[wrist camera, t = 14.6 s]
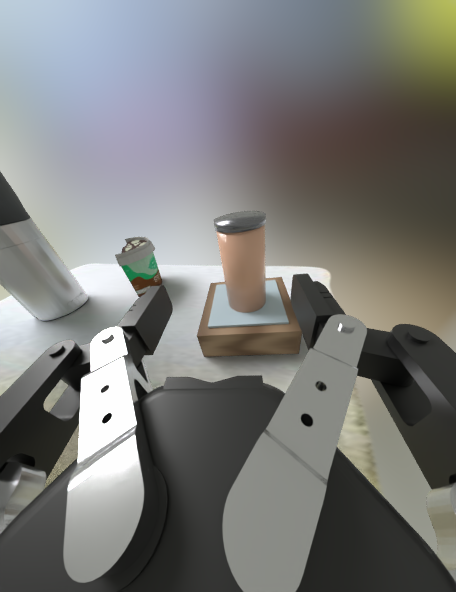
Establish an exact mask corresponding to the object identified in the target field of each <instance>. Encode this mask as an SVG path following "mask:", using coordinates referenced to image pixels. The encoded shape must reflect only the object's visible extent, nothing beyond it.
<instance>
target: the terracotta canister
mask: <svg viewBox="0 0 456 592" xmlns="http://www.w3.org/2000/svg"><path fill="white" fill-rule="evenodd" d="M265 223H266V214H265V213H264V212H259V211H244V212H237V213H231V214H227V215H223V216H220V217H218V218H216V219H215V220H214V225H215V230H216V231H217V237H218V243H219V249H220V255H221V261H222V267H223V273H224V279H225V285H226V290H227V296H228V302H229V306H230V307H231V308H232V309H233V310H235V311H237V312H242V313H249V312H254V311H257V310H259V309H261V308H262V307H263V306H264V305H265V302H266V277H265Z"/></svg>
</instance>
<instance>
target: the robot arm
mask: <svg viewBox="0 0 456 592" xmlns="http://www.w3.org/2000/svg"><path fill="white" fill-rule="evenodd" d="M0 284H1V285H2V286H3V287H4V288H5V289H6V290H7V291H8V292H9V293H10V294H11V295H12V296H13V297H14V298H15V299H16V300H17V301H18V302H19V303H20V304H21V305H22V306H23V307H24V308H25V309H26V310H28V311H29V312H30V313H31V314H32V315H33V316H34V317H37V318H38V319H39V320H42V321H47V320H53V319H56V318H59V317H62V316H64V315H67V314H69V313H71V312H73V311H75V310H76V309H78V308H79V307H81V306H82V305H83V304H84V303H85V302H86V301H87V300H88V296H87V294H86V293H85V291H84V290H83V289H82V287H81V286H80V285H79V283H78V282H77V280H76V279H75V278H74V276H73V275H72V273H71V272H70V271H69V269H68V268H67V267H66V265H65V264H64V262H63V261H62V260H61V259H60V257H59V256H58V254H57V253H56V252H55V251H54V249H53V247H52V246H51V245H50V243H49V242H48V241H47V239H46V238H45V237H44V235H43V234H42V233H41V231H40V230H39V229H38V227H37V226H36V224H35V223H34V222H33V220H32V219H31V218H30V216H29V215H28V213H27V212H26V211H25V209H24V207H23V205H22V204H21V202H20V200H19V199H18V197H17V195H16V194H15V192H14V191H13V189H12V188H11V186H10V185H9V184H8V182H7V181H6V179H5V178H4V176H3V175H2V173H1V172H0ZM291 305H292V308H293V310H294V313H295V316H296V318H297V321H298V323H299V326H300V329H301V331H302V334H303V337H304V339H305V342H306V344H307V347H308V350H309V351H308V353H307V355H306V357H305V359H304V360H303V362H302V364H301V366H300V368H299V370H298V371H297V373H296V375H295V377H294V379H293V381H292V382H291V384H290V386H289V388H288V390H287V392H286V394H285V393H284V392H282V391H281V390H279V389H277V388H276V387H273V386H271V385H268V384H265V383H263V380H262V376H236V377H232V378H228V379H225V380H221V381H218V382H214V383H210V382H206V381H203V380H199V379H195V378H191V377H167V378H166V381H165V384H164V386H161V387H159V388H156V389H154V390H153V388H152V385H151V382H150V379H149V376H148V373H147V370H146V366H145V363H144V361H143V360H142V358H143V356H144V355H153V353H154V351H155V349H156V347H157V345H158V343H159V340H160V338H161V336H162V334H163V332H164V329H165V327H166V325H167V323H168V321H169V319H170V316H171V314H172V310H173V308H172V303H171V301H170V298H169V296H168V293H167V291H166V289H165V287H164V286H163V285H160V286H151V287H150V288H149V289H148V290H147V292H146V293H145V294H144V295H142V296H141V297H140V298H138V299H137V300H136V301H135V303H134V304H133V306H132V307H131V308H130V309H129V311H128V312H127V313H126V314H125V316H124V317H123V318H122V320H121V321H120V322H119V324H118V325H117V326H116V327H112V328H109V329H106V330H104V331H102V332H101V333H99V334H98V335H97V336H96V337H95V338H94V339H93V340H92V342H91V343H87V344H84V345H80V346H78V345H77V344H76V343H75V342H74V341H73V340H65V341H61V342H59V343H57V344H55V345H53V346H52V347H50V348H49V349H47V350H46V351H45V352H44V353H43V354H42V355H41V356H40V357H39V358H38V359H37V360H36V361H35V362H34V363H33V364H32V365H31V366H30V367H29V368H28V369H27V370H26V371H25V372H24V373H23V374H22V375H21V376H20V377H19V378H18V379H17V380H16V381H15V382H14V383H13V384H12V385H11V386H10V387H9V388H8V389H7V390H6V391H5V392H4V393H3V394H2V395H1V396H0V592H456V353H455V352H454V351H453V350H452V349H451V348H450V347H449V346H447V345H446V344H445V343H444V342H443V341H442V340H441V339H440V338H439V337H437V336H436V335H435V334H433V333H432V332H430V331H428V330H426V329H424V328H421V327H418V326H415V325H410V324H399V325H396V326H395V327H394V328H393V329H392V331H391V332H386V331H380V330H374V329H369V328H366V326H365V325H364V324H363V323H362V322H361V321H360V320H358V319H356V318H354V317H352V316H349V315H346V314H345V313H344V311H343V310H342V309H341V307H340V306H339V304H338V303H337V302H336V300H335V299H334V298H333V296H332V295H331V293H329V291H328V289H327V288H326V286H324V285H323V284H321V283H320V282H318V281H314V282H313V281H312V279H311V278H310V276H309V275H308V274H296V275H293V280H292V289H291ZM357 376H361V377H365V378H369V379H371V380H372V382H373V384H374V386H375V388H376V389H377V391H378V393H379V395H380V397H381V398H382V400H383V402H384V404H385V406H386V408H387V409H388V411H389V413H390V415H391V417H392V418H393V420H394V422H395V423H396V426H397V427H398V429H399V431H400V433H401V434H402V437H403V438H404V440H405V442H406V444H407V446H408V447H409V449H410V451H411V453H412V454H413V456H414V458H415V460H416V462H417V464H418V465H419V467H420V469H421V471H422V473H423V475H424V476H425V478H426V480H427V482H428V484H429V485H430V487H431V489H432V490H431V491H430V492H429V493H428V495H427V499H426V500H427V501H426V505H427V511H428V514H429V517H430V520H431V522H432V526H433V528H434V530H435V533H436V537H437V543H438V548H437V554H435V553H434V551H433V550H432V549H431V548H430V547H429V546H428V544H427V543H426V542H425V541H424V540H423V539H422V537H421V536H420V535H419V534H418V533H417V532H416V531H415V530H414V529H413V528H412V527H411V526H410V525H409V524H408V522H407V521H406V520H405V519H404V518H403V517H402V516H401V515H400V514H399V513H398V512H397V511H396V510H395V509H394V507H393V506H392V505H391V504H390V503H389V502H388V501H387V500H386V499H385V498H384V497H383V496H382V495H381V494H380V492H379V491H378V490H377V489H376V488H375V487H374V486H373V485H372V484H371V483H370V482H369V481H368V480H367V479H366V477H365V476H364V475H363V474H362V473H361V472H360V471H359V470H358V469H357V468H356V467H355V466H354V465H353V464H352V463H351V461H350V460H349V459H348V458H347V457H346V456H345V455H344V454H343V453H342V452H341V451H340V450H339V449H338V448H337V444H338V440H339V437H340V433H341V430H342V426H343V422H344V419H345V415H346V412H347V408H348V405H349V401H350V398H351V394H352V391H353V387H354V384H355V380H356V377H357ZM60 379H61V380H63V381H64V382H65V383H67V384H68V385H69V386H68V387H67V389H66V390H65V392H64V393H63V394H62V396H61V397H60V398H59V400H58V401H57V403H56V404H55V405H54V407H53V408H52V409H51V411H50V412H47V411H45V410H44V407H43V404H44V401H45V399H46V397H47V396H48V395H49V393H50V392H51V391H52V390H53V388H54V387H55V386H56V384H57V383H58V382H59V381H60ZM79 423H80V425H79V448H78V458H77V459H76V460H75V461H74V462H73V463H72V464H71V465H70V466H69V467H67V468H66V469H65V470H64V471H63V472H62V473H61V474H60V475H59V476H58V477H57V478H56V479H55V480H54V481H53V482H52V483H51V484H49V485H48V486H47V487H46V488H45V489H44V486H45V483H46V480H47V478H48V476H49V474H50V473H51V471H52V469H53V468H54V466H55V464H56V462H57V461H58V459H59V457H60V455H61V454H62V452H63V450H64V448H65V447H66V445H67V443H68V442H69V440H70V438H71V436H72V435H73V433H74V431H75V429H76V428H77V426H78V424H79Z"/></svg>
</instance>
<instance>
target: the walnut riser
mask: <svg viewBox="0 0 456 592" xmlns="http://www.w3.org/2000/svg"><path fill="white" fill-rule="evenodd" d="M301 335H302V331H301V329H300V326H299V323H298V321H297V318H296V316H295V313H294V310H293V308H292V305H291V300H290V298H289V295H288V293H287V290H286V287H285V285H284V282H283V280H282V277H277V278H266V302H265V305H264V306H263V307H262V308H261V309H259V310H257V311H254V312H249V313H242V312H237V311H235V310H233V309H232V308H231V307H230V306H229V302H228V296H227V290H226V285H225V282H219V283H211V284H210V288H209V292H208V296H207V300H206V303H205V307H204V311H203V315H202V319H201V322H200V326H199V330H198V334H197V338H198V341H199V343H200V346H201V349H202V352H203V355H204V357H209V356H239V355H270V354H299V348H300V342H301Z"/></svg>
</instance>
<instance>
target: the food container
mask: <svg viewBox="0 0 456 592" xmlns="http://www.w3.org/2000/svg"><path fill="white" fill-rule="evenodd" d="M125 240H126V242H127V245H126V246H125V247H123V249H122V253H121V254H117V255H115V256H116V258H117V261H118V264H119V266H121V267H122V269H123V270H124V272H125V274H126V275H127V277H128V279H129V281H130V282H131V284H132V286H133V288H134V289H135V291H136V293H137V295H138V296H139V297H141V296H142V295H144V294H145V293H146V292H147V290H148V289H149V288H150V287H151V286H160V285H161V284H162V279H161V276H160V273H159V270H158V266H157V263H156V260H155V257H154V254H153V251H154V250H155V247H154V246H153V244H152V243H151V241H150V240H149V239H148V238H146V237H134V238H128V239H125Z"/></svg>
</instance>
